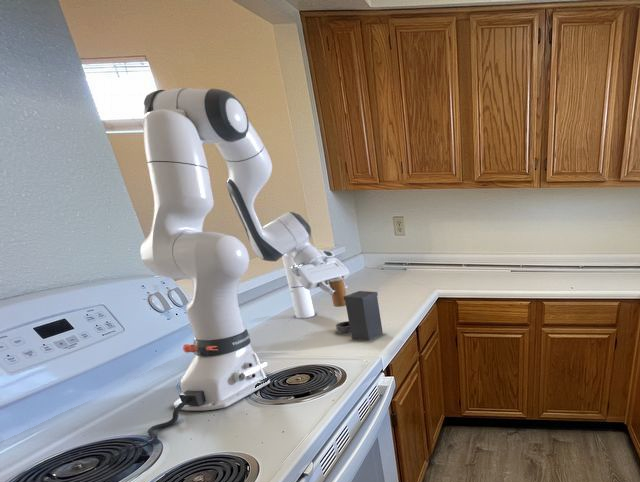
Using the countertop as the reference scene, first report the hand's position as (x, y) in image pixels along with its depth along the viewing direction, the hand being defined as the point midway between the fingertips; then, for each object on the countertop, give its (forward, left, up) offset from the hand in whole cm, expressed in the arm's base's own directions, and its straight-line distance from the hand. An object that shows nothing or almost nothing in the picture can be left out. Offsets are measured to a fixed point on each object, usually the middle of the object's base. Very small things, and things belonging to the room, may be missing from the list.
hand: (339, 291), depth 144 cm
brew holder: (+1, +1, -15) cm, 15 cm away
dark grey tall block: (-5, -9, -15) cm, 18 cm away
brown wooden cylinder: (0, +1, -5) cm, 5 cm away
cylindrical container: (+23, +29, -15) cm, 40 cm away
